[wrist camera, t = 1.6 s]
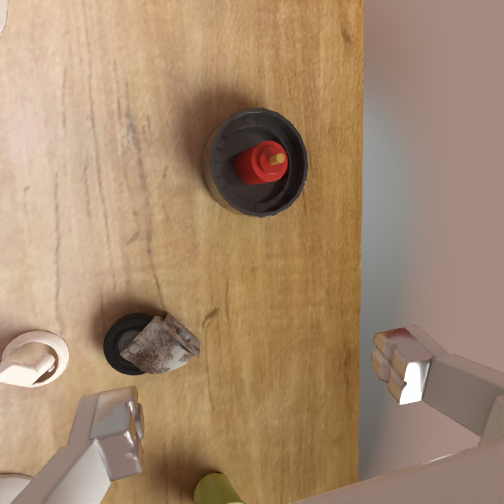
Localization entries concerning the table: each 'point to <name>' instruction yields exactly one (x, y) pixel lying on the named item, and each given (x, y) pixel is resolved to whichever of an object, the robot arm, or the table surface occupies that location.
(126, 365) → the caster wheel
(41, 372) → the hook
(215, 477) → the plant pot
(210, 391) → the table surface
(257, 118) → the bowl
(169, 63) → the table surface
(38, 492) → the robot arm
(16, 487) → the candlestick
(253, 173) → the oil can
